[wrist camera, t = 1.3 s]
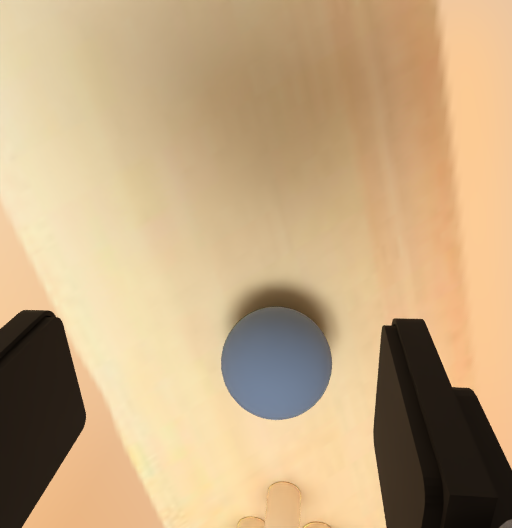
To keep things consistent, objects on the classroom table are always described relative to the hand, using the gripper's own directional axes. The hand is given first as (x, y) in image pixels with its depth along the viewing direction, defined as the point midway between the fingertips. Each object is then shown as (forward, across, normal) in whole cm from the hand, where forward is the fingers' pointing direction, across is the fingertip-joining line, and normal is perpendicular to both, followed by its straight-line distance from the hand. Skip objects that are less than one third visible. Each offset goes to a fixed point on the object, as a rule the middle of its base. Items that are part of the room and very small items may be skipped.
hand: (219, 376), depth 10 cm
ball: (+13, 0, +9) cm, 16 cm away
